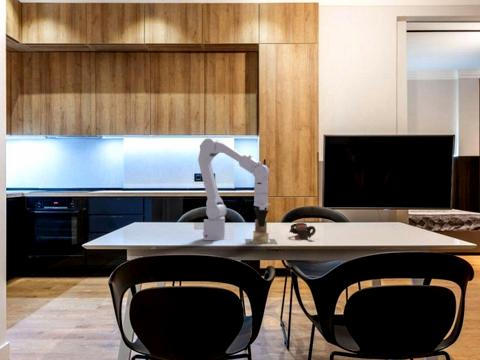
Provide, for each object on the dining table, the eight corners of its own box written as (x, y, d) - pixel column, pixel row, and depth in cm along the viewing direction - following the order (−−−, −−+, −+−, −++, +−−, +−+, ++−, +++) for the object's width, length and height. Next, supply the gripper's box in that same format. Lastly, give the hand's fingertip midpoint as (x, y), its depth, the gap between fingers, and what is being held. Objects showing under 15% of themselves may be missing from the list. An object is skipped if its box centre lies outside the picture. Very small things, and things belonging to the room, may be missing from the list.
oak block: (253, 242, 173) (254, 232, 173) (253, 239, 179) (253, 230, 179) (268, 242, 173) (268, 232, 173) (267, 239, 179) (267, 230, 179)
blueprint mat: (245, 245, 169) (245, 243, 169) (244, 240, 182) (244, 238, 182) (277, 245, 169) (277, 244, 169) (274, 240, 182) (274, 238, 182)
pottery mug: (288, 241, 182) (286, 224, 186) (294, 247, 190) (292, 230, 194) (315, 235, 178) (312, 218, 182) (320, 242, 186) (317, 225, 190)
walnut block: (255, 232, 174) (255, 220, 174) (255, 230, 178) (255, 219, 178) (266, 232, 174) (266, 220, 174) (265, 230, 178) (265, 219, 178)
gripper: (272, 194, 169) (271, 227, 169) (268, 192, 183) (268, 223, 183) (254, 194, 168) (254, 227, 169) (253, 192, 183) (252, 223, 183)
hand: (260, 225), depth 176 cm, fingers open, 7 cm apart
